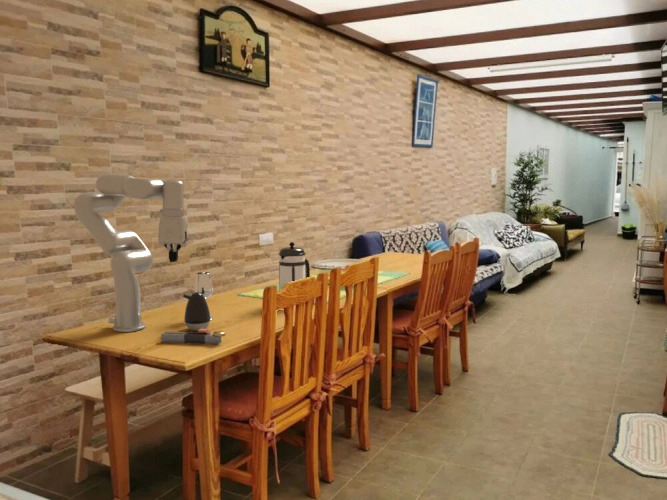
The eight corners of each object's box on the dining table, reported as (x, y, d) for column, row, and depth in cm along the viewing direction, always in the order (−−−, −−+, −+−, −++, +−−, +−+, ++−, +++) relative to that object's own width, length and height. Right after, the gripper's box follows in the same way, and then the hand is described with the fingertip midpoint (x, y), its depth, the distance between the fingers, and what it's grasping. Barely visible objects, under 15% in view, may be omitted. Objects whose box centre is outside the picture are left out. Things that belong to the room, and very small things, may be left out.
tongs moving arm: (161, 342, 212) (161, 333, 212) (163, 341, 214) (162, 332, 213) (218, 344, 209) (217, 336, 209) (219, 343, 211) (219, 334, 210)
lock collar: (198, 341, 213) (198, 330, 212) (203, 338, 217) (202, 327, 217) (206, 341, 212) (205, 330, 212) (210, 338, 217) (210, 327, 216)
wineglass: (209, 321, 243) (207, 274, 240) (192, 320, 244) (190, 274, 242) (216, 316, 250) (215, 271, 248) (200, 316, 252) (198, 271, 249)
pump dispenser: (186, 326, 235) (185, 290, 233) (212, 325, 236) (211, 289, 234) (182, 333, 225) (180, 295, 223) (209, 332, 225) (207, 294, 224)
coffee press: (311, 307, 268) (310, 243, 264) (276, 307, 267) (275, 244, 263) (309, 299, 285) (309, 239, 281) (277, 299, 284) (276, 239, 280)
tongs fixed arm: (161, 342, 212) (160, 331, 212) (166, 338, 217) (166, 328, 216) (223, 345, 208) (222, 334, 208) (227, 341, 212) (227, 331, 212)
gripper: (149, 213, 212) (150, 261, 215) (187, 215, 210) (187, 264, 212) (159, 211, 220) (160, 258, 222) (196, 213, 217) (195, 261, 220)
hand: (173, 261), depth 217 cm, fingers closed
